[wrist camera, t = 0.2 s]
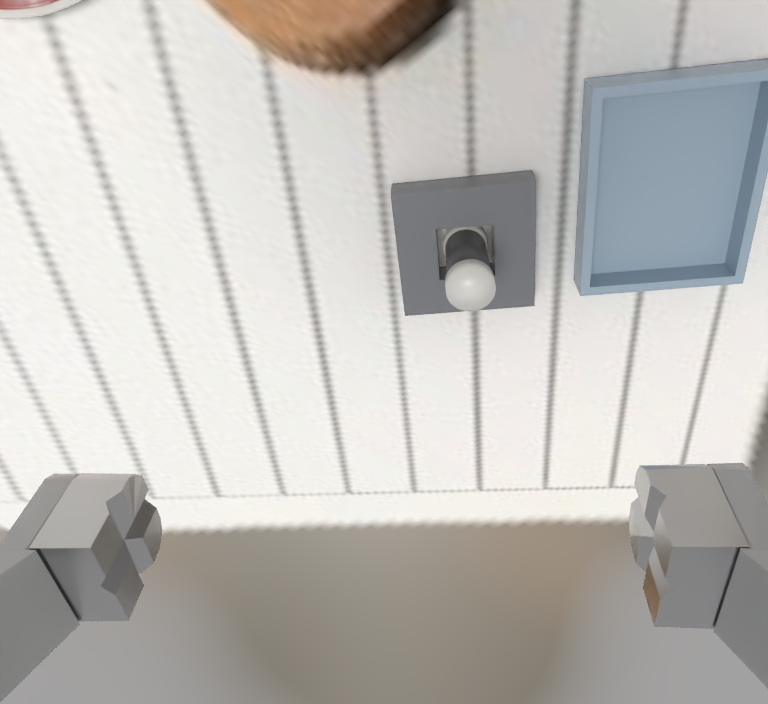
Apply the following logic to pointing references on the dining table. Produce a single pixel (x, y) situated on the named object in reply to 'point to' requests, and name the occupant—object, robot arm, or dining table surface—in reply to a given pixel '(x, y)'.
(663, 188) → the parts tray
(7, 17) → the dinner plate
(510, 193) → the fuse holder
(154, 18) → the dining table surface
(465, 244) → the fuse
